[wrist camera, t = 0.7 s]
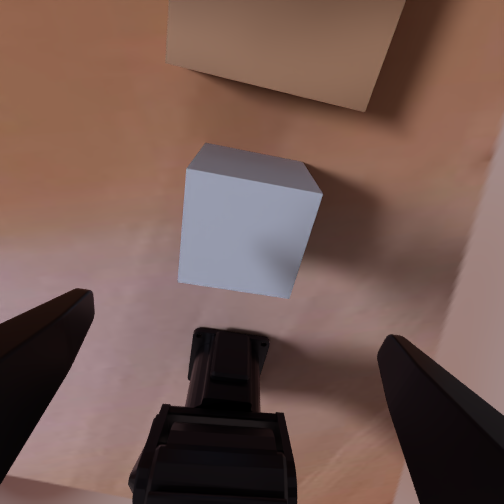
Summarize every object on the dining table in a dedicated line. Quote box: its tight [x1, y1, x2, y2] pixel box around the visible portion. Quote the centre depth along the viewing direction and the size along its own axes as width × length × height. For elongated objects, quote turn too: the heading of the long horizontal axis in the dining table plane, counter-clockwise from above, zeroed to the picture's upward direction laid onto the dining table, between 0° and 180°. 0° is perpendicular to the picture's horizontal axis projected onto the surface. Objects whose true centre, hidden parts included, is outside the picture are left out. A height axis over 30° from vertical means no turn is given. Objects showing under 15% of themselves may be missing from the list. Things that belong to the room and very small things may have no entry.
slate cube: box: [178, 143, 323, 299], centre depth 17 cm, size 6×6×6 cm
